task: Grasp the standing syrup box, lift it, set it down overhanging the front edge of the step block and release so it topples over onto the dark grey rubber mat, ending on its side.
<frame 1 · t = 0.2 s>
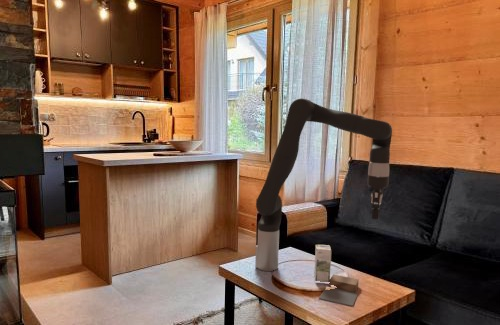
hand: (375, 216, 141), 28 cm above the table, fingers open, 8 cm apart
step block: (343, 287, 144), on the table
syrup box: (321, 281, 149), on the table
mat: (338, 296, 136), on the table
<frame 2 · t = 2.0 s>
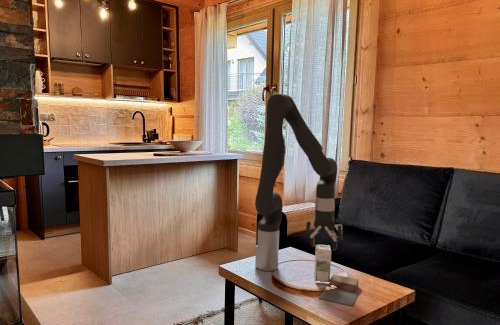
hand: (323, 248, 147), 14 cm above the table, fingers open, 8 cm apart
nothing on the table moved.
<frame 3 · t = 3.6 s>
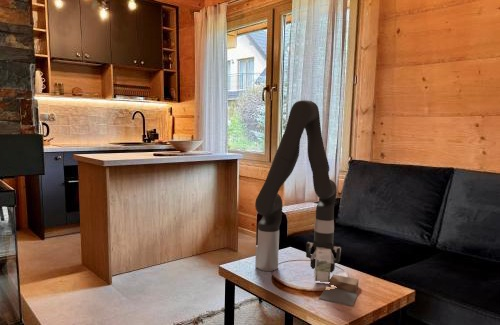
hand: (322, 269, 148), 5 cm above the table, fingers closed on syrup box, 7 cm apart
syrup box: (321, 281, 149), on the table, touching gripper
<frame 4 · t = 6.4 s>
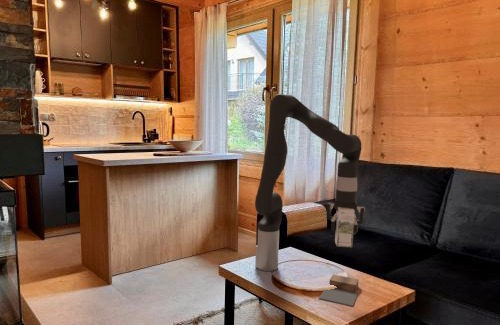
hand: (344, 232, 138), 23 cm above the table, fingers closed on syrup box, 7 cm apart
syrup box: (343, 245, 138), point 18 cm above the table, touching gripper
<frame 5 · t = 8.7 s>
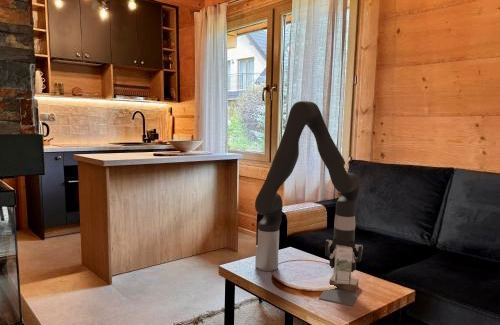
hand: (342, 269, 139), 9 cm above the table, fingers closed on syrup box, 7 cm apart
syrup box: (341, 282, 140), point 4 cm above the table, touching gripper
when the fingers open (9 cm above the table, at t = 9.5 s): syrup box moves 3 cm, resting on mat.
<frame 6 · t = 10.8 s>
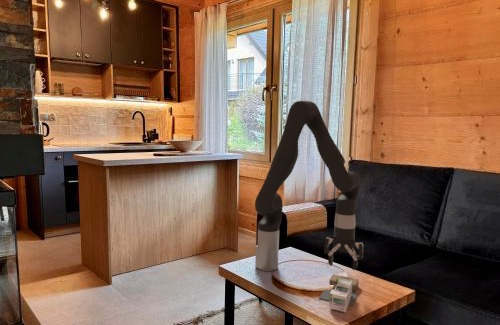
hand: (342, 267, 139), 10 cm above the table, fingers open, 8 cm apart
syrup box: (344, 286, 137), point 3 cm above the table, touching mat
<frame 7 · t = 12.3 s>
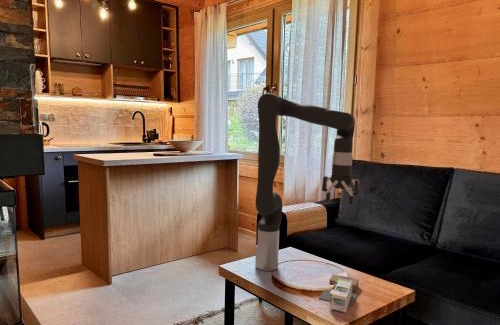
hand: (339, 203, 148), 32 cm above the table, fingers open, 8 cm apart
nothing on the table moved.
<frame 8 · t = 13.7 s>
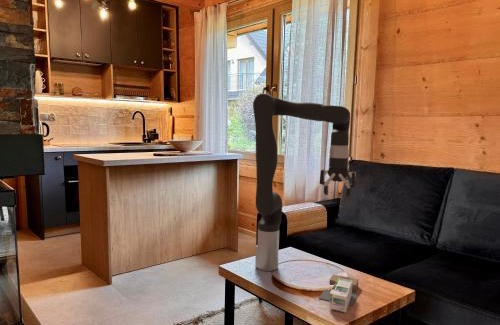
hand: (336, 196, 150), 34 cm above the table, fingers open, 8 cm apart
nothing on the table moved.
at the end: syrup box tilted 89°; syrup box inside the target area (3.6 cm from its centre), point 3.2 cm above the table; the gripper is holding nothing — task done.
